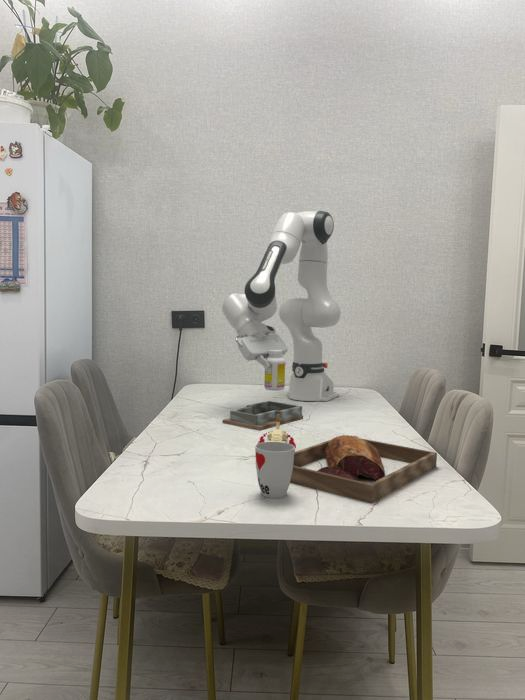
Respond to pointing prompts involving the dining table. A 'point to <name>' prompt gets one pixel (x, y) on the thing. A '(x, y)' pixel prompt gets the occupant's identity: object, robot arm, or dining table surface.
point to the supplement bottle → (275, 371)
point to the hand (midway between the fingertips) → (276, 366)
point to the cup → (274, 467)
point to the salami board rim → (357, 489)
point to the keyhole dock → (264, 415)
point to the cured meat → (353, 458)
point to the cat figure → (277, 434)
